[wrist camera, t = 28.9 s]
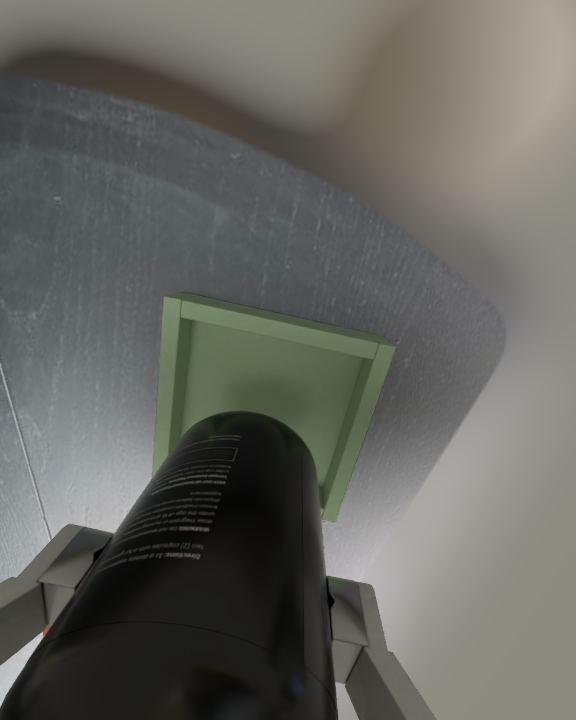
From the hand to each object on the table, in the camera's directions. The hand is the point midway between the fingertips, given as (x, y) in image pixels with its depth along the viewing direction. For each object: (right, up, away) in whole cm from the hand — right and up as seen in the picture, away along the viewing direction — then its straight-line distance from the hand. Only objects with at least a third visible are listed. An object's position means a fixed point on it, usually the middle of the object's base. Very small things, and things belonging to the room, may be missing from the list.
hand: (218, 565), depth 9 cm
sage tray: (+1, +4, +11) cm, 11 cm away
